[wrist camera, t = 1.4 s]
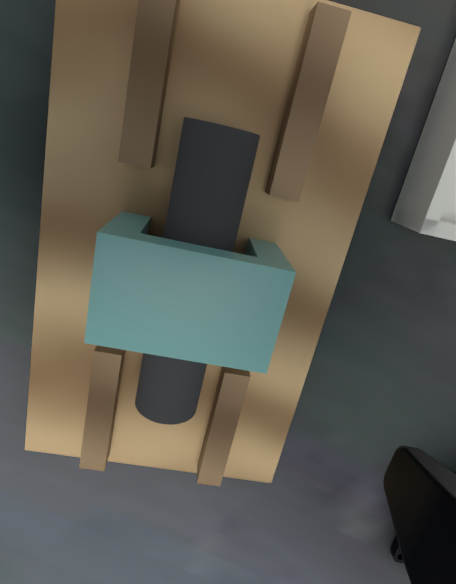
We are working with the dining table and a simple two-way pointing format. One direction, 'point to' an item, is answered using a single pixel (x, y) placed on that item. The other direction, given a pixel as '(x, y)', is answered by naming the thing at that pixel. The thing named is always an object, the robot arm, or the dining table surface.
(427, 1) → the dining table surface
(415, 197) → the tray
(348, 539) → the dining table surface
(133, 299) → the teal notched block
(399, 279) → the dining table surface
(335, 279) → the board
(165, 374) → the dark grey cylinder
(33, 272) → the dining table surface
